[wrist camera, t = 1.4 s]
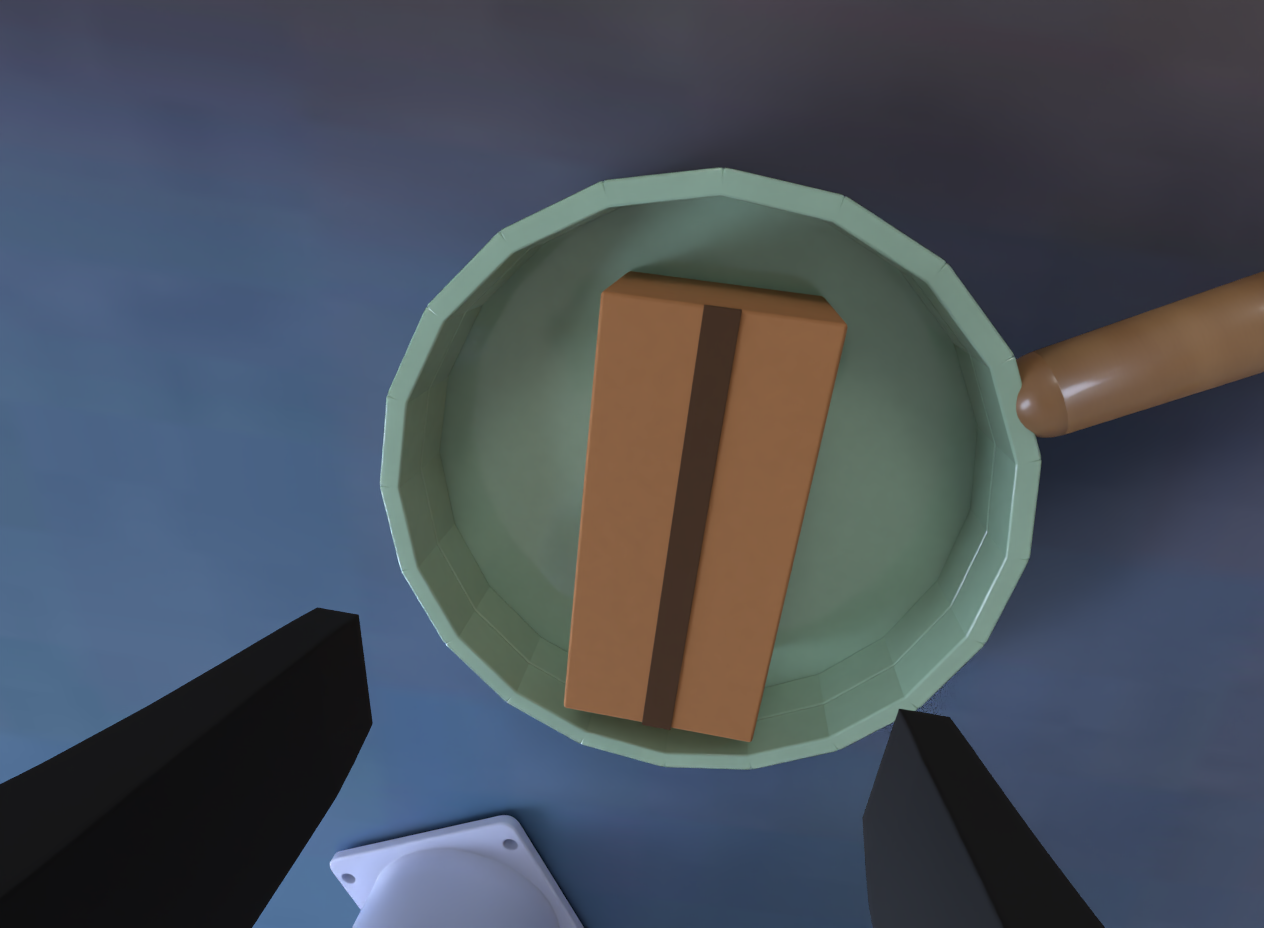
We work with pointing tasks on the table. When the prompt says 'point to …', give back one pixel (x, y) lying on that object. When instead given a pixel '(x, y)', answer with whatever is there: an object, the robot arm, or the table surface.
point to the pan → (842, 482)
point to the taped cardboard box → (694, 496)
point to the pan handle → (1144, 360)
